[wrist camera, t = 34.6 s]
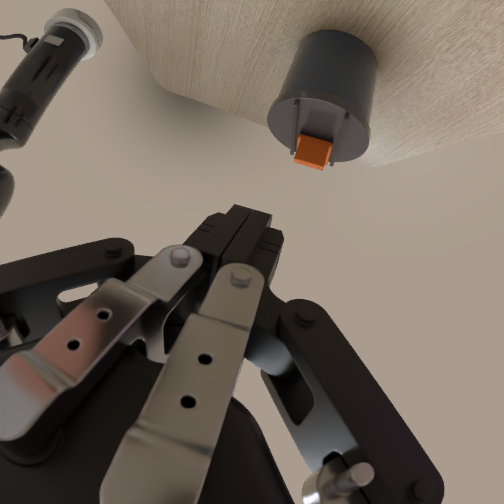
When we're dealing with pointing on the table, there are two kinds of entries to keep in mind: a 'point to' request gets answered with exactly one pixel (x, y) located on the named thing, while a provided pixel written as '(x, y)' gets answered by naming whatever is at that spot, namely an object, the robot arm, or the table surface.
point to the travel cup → (327, 95)
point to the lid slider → (312, 151)
